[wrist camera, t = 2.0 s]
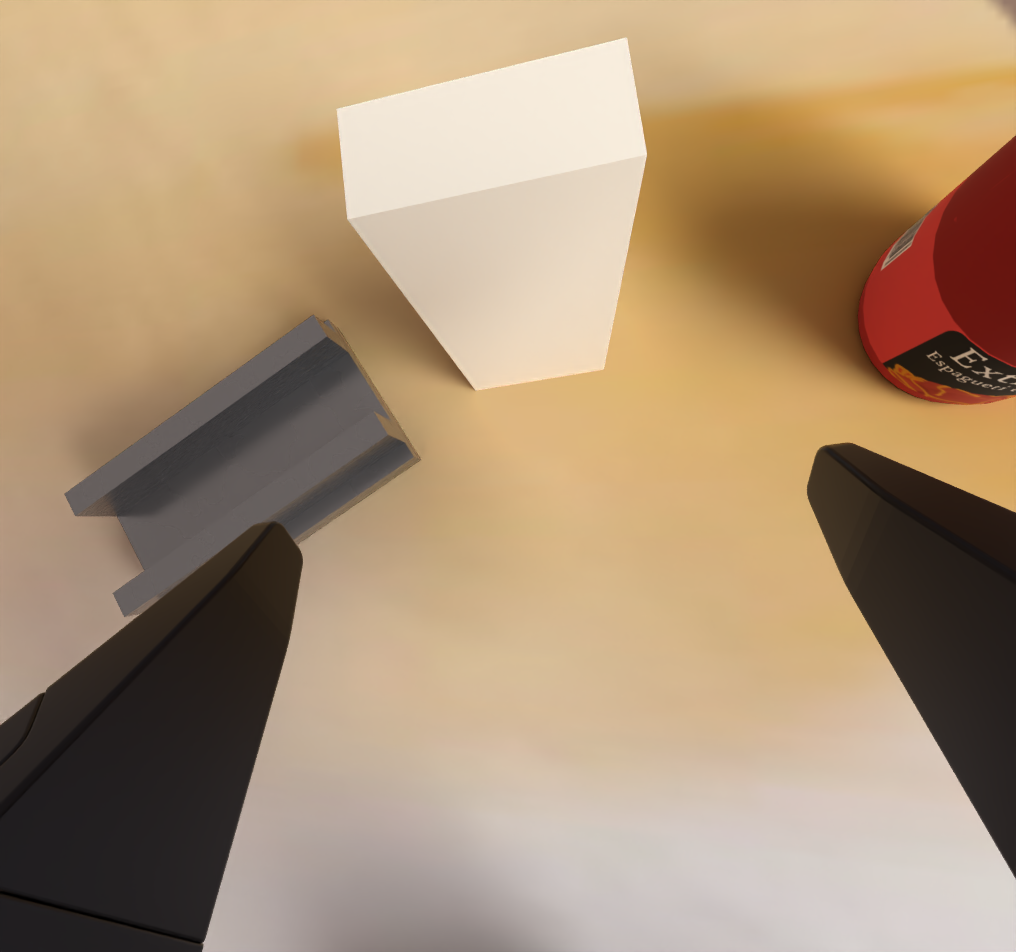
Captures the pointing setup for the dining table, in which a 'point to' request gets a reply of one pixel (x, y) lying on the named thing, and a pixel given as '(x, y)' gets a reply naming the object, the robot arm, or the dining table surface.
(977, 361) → the canned food
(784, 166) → the dining table surface
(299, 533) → the bottom track
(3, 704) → the dining table surface
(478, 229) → the door panel
